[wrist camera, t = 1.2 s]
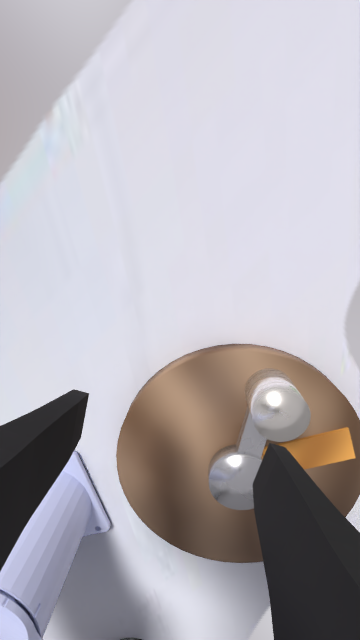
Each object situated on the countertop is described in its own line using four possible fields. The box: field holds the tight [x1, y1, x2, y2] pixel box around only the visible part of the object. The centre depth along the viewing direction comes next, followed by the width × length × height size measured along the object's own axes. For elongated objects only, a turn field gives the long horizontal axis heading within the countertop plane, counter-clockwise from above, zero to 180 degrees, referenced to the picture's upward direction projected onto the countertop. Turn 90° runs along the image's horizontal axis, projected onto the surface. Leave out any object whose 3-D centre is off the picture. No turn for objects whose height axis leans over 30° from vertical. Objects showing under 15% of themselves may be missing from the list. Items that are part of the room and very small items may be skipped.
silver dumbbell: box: [208, 368, 311, 510], centre depth 19 cm, size 11×4×4 cm, turn 168°
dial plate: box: [116, 344, 360, 563], centre depth 22 cm, size 18×18×2 cm
